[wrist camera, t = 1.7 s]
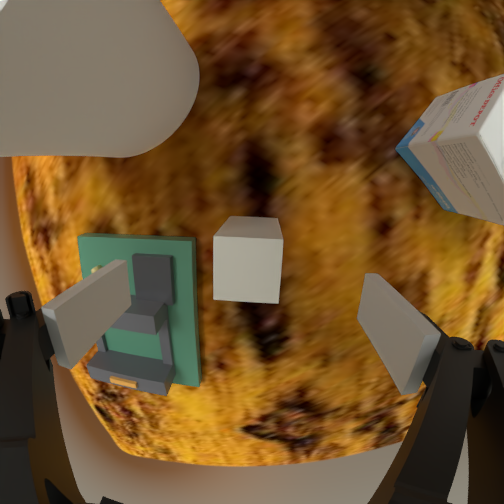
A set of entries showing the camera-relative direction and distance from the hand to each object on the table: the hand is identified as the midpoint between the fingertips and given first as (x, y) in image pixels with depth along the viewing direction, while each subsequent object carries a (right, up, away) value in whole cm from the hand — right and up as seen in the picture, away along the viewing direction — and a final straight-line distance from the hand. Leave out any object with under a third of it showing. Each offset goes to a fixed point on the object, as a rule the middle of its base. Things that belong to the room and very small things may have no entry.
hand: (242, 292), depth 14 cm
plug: (+1, +3, +10) cm, 10 cm away
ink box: (+19, +12, +7) cm, 23 cm away
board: (-11, -4, +12) cm, 17 cm away
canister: (-11, +17, +6) cm, 21 cm away
